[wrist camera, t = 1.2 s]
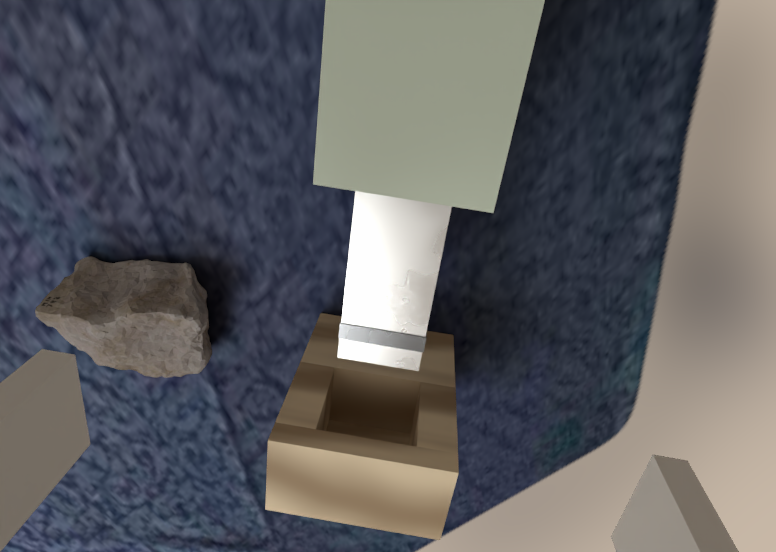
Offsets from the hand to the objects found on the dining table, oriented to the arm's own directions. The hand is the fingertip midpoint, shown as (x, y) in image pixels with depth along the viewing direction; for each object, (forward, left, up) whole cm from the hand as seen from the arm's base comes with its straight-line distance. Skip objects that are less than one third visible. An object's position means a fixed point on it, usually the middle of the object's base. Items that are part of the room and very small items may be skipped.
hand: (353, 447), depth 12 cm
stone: (+10, -16, -21) cm, 28 cm away
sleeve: (-8, 0, -20) cm, 22 cm away
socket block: (+12, 0, -20) cm, 24 cm away
